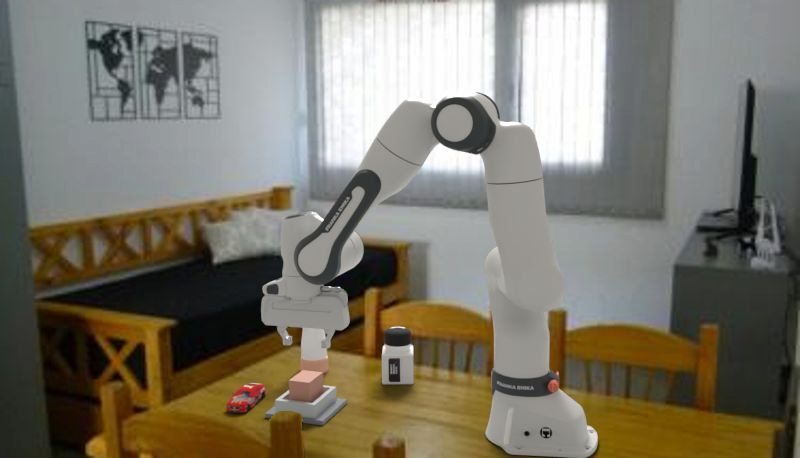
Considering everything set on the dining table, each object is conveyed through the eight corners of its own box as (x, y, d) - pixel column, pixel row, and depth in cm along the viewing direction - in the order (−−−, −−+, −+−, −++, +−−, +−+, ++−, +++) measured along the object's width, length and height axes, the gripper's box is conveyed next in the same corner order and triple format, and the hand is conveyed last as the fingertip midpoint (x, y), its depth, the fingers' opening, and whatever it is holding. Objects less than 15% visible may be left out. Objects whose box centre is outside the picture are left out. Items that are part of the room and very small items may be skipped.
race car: (245, 417, 169) (244, 399, 168) (222, 414, 170) (221, 397, 170) (270, 395, 182) (269, 379, 181) (249, 393, 183) (248, 377, 182)
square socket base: (346, 403, 175) (346, 386, 174) (323, 425, 163) (322, 407, 162) (292, 396, 180) (291, 380, 179) (265, 417, 167) (264, 400, 167)
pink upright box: (323, 401, 174) (322, 372, 172) (310, 413, 167) (309, 382, 166) (303, 399, 175) (302, 370, 174) (289, 410, 169) (288, 380, 168)
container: (413, 384, 186) (413, 333, 184) (382, 384, 187) (381, 333, 185) (413, 373, 194) (413, 324, 192) (383, 374, 194) (382, 324, 192)
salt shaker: (303, 365, 202) (301, 294, 199) (331, 365, 201) (329, 294, 198) (297, 374, 195) (295, 301, 192) (325, 375, 194) (323, 301, 191)
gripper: (352, 284, 166) (355, 345, 169) (269, 280, 173) (273, 338, 175) (341, 291, 161) (344, 354, 163) (255, 286, 167) (259, 347, 170)
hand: (306, 346), depth 169 cm, fingers open, 8 cm apart
